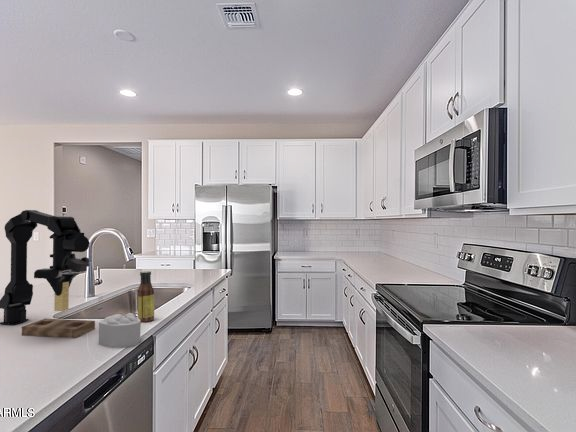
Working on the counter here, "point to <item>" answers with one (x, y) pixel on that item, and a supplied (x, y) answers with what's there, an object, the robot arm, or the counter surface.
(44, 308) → the counter surface
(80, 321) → the mount board
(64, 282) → the pin
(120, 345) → the lumpy-topped squat cylinder
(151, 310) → the sauce bottle
